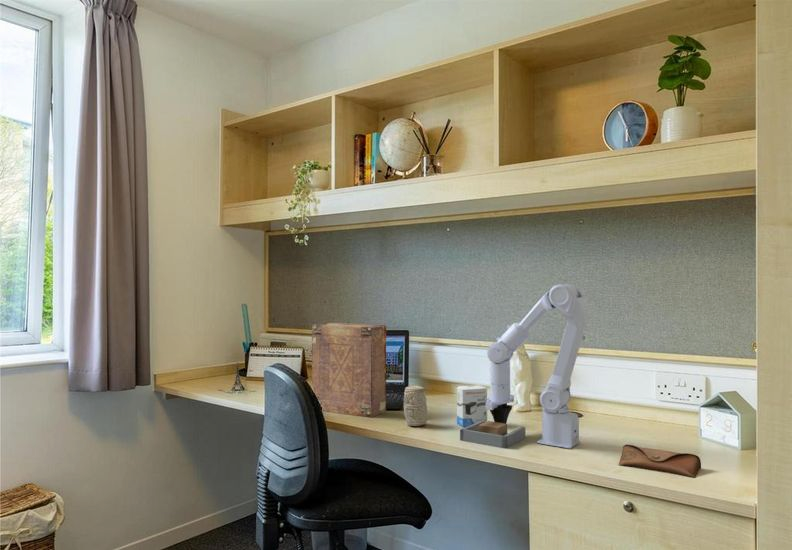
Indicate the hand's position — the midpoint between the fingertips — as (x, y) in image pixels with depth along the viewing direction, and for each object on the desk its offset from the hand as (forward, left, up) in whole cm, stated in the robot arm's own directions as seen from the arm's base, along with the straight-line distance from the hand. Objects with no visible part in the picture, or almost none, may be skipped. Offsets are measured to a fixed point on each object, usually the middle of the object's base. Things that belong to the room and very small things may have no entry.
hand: (500, 430), depth 172 cm
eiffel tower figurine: (+121, -2, -2) cm, 121 cm away
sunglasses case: (-44, +4, -2) cm, 44 cm away
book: (+58, +1, -2) cm, 58 cm away
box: (0, +4, -1) cm, 5 cm away
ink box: (+13, -7, -2) cm, 15 cm away
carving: (+27, +4, -2) cm, 27 cm away
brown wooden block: (0, +4, -1) cm, 5 cm away
